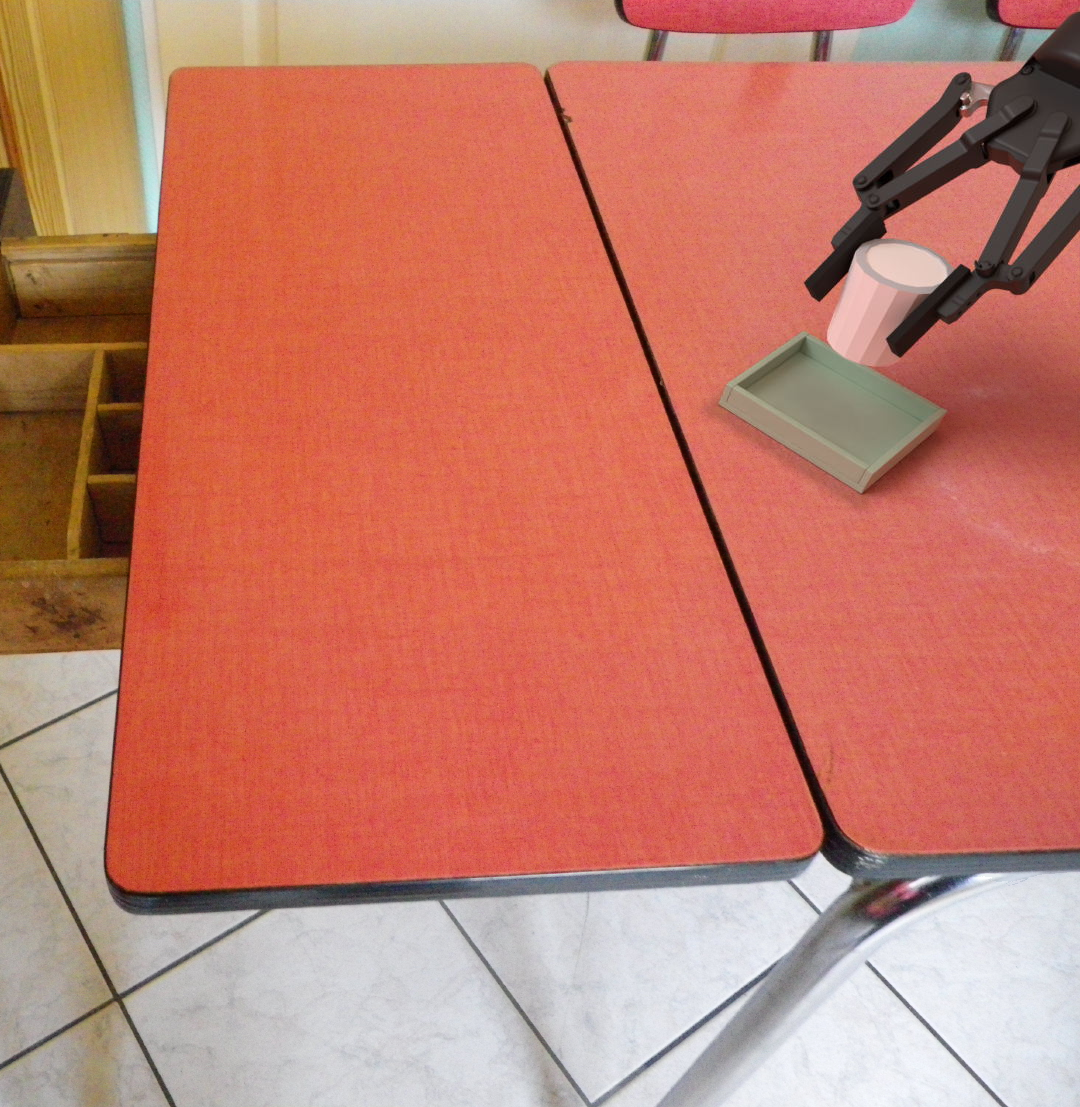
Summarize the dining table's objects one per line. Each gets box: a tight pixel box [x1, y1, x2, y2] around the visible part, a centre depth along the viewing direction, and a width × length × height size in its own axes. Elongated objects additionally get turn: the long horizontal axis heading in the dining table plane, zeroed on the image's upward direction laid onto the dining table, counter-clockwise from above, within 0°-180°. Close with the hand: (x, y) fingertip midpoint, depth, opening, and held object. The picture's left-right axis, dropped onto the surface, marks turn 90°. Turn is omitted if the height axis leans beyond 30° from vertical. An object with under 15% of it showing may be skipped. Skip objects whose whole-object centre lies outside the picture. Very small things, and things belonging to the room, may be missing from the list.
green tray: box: [718, 330, 948, 494], centre depth 82 cm, size 13×11×2 cm
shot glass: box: [826, 237, 956, 368], centre depth 74 cm, size 7×7×7 cm
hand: (851, 319), depth 73 cm, fingers closed on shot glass, 7 cm apart
